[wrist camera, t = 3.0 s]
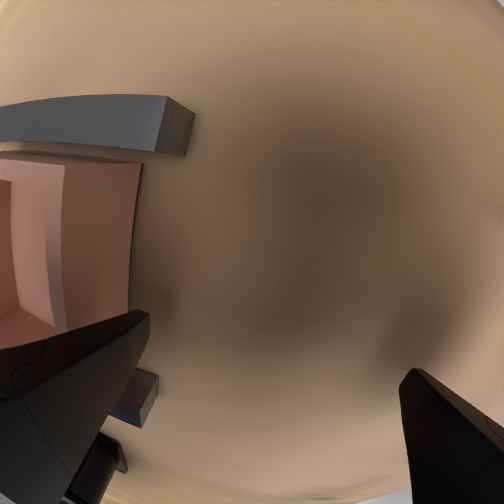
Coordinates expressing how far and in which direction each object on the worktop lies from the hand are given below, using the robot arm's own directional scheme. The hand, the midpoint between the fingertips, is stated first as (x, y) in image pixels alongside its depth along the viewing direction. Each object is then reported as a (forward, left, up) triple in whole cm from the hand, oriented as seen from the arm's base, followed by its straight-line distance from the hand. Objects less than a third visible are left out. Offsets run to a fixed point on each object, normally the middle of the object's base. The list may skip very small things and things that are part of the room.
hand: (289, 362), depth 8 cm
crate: (0, +10, -2) cm, 11 cm away
